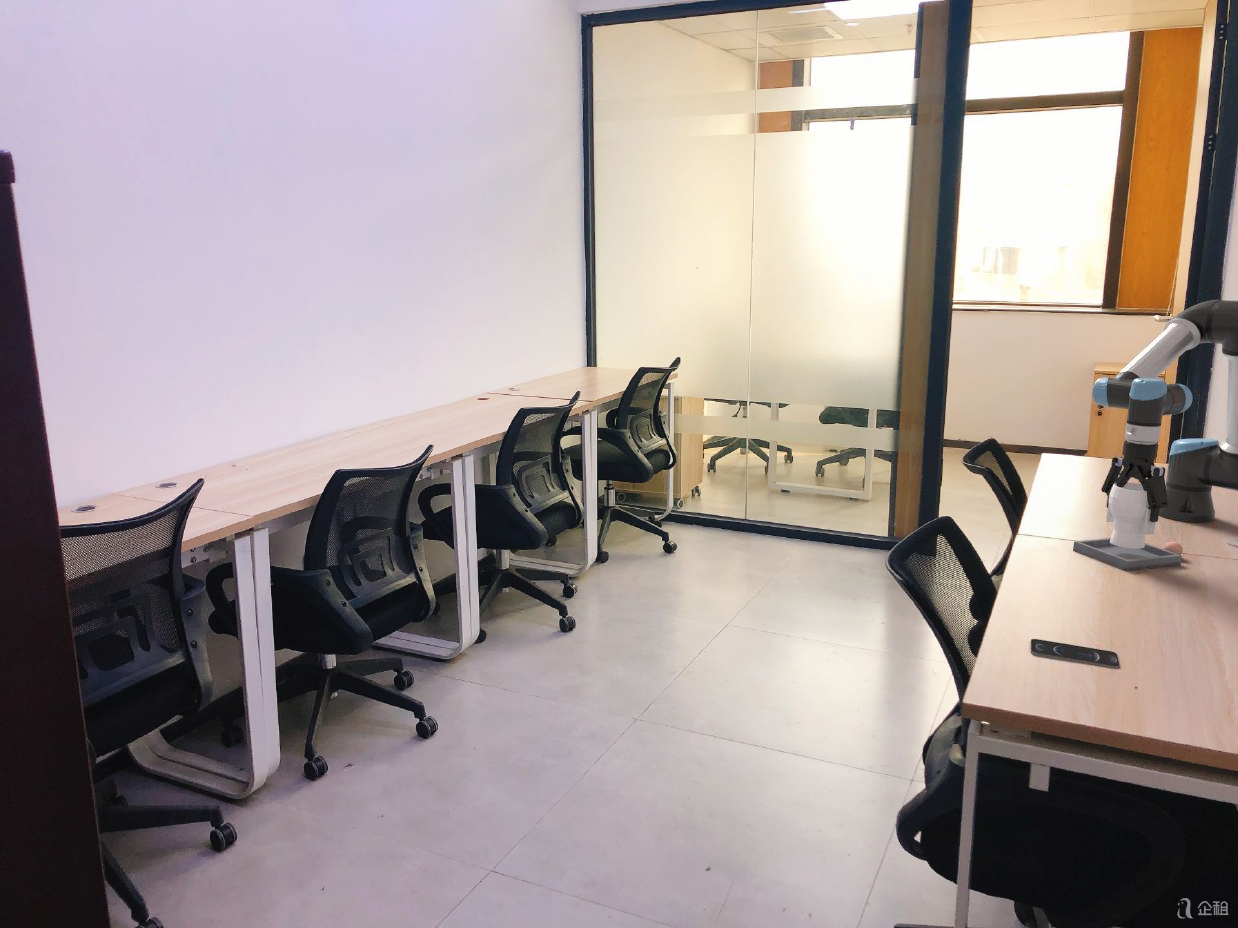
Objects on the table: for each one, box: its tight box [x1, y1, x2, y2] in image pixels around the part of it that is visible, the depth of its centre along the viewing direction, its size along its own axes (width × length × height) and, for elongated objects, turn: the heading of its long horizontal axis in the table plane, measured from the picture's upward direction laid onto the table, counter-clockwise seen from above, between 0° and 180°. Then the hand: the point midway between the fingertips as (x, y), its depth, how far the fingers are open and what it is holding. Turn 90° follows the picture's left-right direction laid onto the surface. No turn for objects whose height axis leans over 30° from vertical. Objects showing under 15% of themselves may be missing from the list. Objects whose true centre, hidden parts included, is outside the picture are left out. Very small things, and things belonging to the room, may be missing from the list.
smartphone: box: [1030, 638, 1121, 669], centre depth 175 cm, size 8×1×15 cm
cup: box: [1109, 481, 1155, 549], centre depth 231 cm, size 11×11×15 cm
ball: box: [1163, 541, 1183, 555], centre depth 234 cm, size 4×4×4 cm
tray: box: [1072, 537, 1183, 572], centre depth 233 cm, size 17×17×2 cm
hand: (1129, 527), depth 232 cm, fingers closed on cup, 11 cm apart
